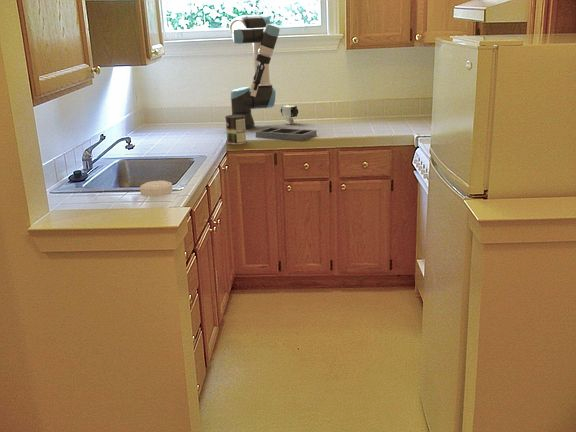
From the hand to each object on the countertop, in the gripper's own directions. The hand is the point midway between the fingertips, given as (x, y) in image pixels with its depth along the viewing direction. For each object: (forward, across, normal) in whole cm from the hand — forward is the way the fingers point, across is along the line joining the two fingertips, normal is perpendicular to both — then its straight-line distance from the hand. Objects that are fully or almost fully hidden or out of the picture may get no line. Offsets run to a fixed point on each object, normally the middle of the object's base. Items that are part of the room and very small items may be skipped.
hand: (252, 94), depth 324 cm
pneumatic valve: (+16, -43, +31) cm, 56 cm away
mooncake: (+34, +101, -31) cm, 111 cm away
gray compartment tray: (+16, -1, +25) cm, 30 cm away
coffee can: (+26, +9, -1) cm, 27 cm away
